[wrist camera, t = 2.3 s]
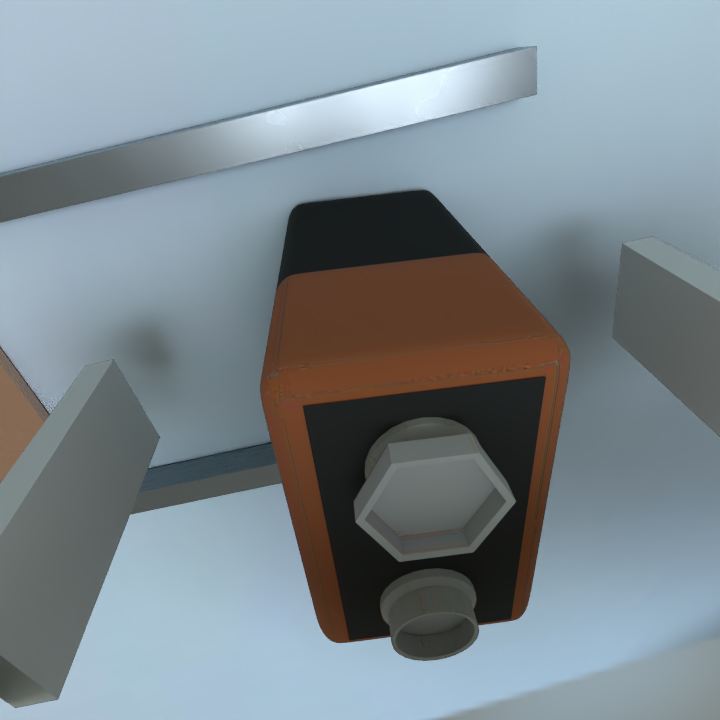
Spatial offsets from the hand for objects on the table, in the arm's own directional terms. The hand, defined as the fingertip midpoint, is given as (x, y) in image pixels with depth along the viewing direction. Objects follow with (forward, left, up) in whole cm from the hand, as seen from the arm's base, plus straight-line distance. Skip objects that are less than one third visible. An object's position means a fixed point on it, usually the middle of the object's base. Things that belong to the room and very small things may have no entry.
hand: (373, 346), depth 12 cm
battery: (0, 0, -4) cm, 4 cm away
